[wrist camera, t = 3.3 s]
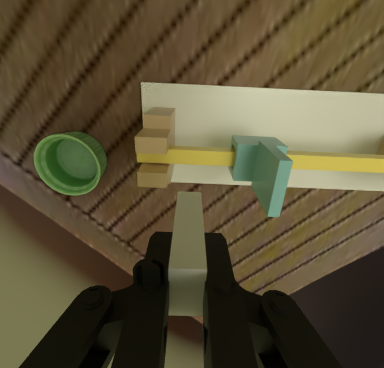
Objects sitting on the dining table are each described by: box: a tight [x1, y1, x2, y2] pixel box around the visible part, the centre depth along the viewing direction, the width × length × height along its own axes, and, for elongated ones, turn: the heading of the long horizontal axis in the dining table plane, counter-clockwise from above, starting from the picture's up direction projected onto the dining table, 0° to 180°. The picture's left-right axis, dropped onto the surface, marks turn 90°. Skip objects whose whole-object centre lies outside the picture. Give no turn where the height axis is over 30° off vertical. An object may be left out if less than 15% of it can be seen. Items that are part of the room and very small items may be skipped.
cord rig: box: [135, 82, 384, 191], centre depth 28 cm, size 14×42×12 cm, turn 87°
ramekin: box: [34, 132, 107, 195], centre depth 33 cm, size 9×9×4 cm
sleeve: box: [228, 135, 293, 217], centre depth 22 cm, size 5×5×10 cm
